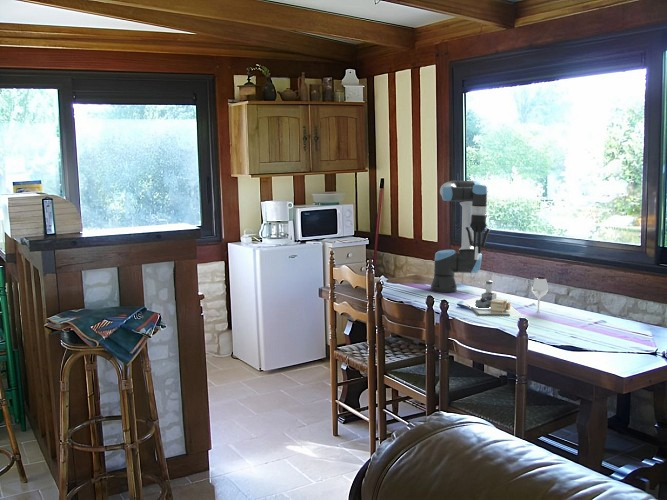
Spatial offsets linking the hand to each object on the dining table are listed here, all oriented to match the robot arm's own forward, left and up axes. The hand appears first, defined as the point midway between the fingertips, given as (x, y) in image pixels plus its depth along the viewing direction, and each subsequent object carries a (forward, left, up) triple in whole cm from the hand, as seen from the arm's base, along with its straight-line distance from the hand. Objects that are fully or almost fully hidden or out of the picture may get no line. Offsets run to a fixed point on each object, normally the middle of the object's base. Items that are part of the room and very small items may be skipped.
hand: (476, 259), depth 363 cm
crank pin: (+3, +6, -21) cm, 22 cm away
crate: (+18, +8, -24) cm, 31 cm away
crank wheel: (+9, +8, -24) cm, 26 cm away
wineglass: (+16, +29, -25) cm, 41 cm away
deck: (+12, +7, -24) cm, 28 cm away
